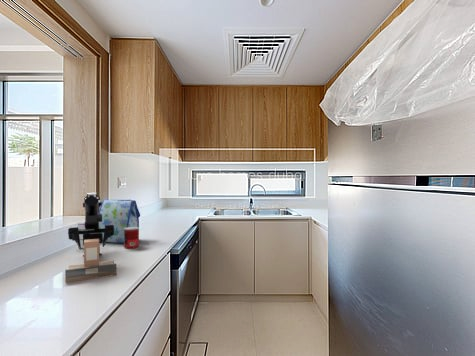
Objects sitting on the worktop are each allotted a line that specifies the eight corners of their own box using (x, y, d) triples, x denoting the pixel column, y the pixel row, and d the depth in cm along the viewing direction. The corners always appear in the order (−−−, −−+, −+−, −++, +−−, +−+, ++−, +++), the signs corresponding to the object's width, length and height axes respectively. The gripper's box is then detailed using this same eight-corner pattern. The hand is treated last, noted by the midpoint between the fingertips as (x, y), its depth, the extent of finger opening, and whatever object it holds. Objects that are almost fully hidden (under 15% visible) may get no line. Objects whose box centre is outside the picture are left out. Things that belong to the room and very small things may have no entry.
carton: (99, 266, 126) (98, 238, 126) (99, 270, 121) (98, 241, 121) (84, 268, 124) (84, 239, 124) (84, 272, 119) (83, 242, 119)
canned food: (141, 246, 170) (141, 227, 170) (132, 249, 163) (132, 229, 163) (130, 245, 173) (130, 226, 173) (121, 248, 165) (121, 228, 165)
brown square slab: (69, 269, 128) (69, 258, 128) (113, 263, 136) (113, 253, 136) (65, 282, 111) (65, 270, 111) (116, 275, 119) (116, 264, 119)
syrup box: (86, 248, 165) (86, 222, 165) (77, 248, 167) (77, 222, 167) (93, 246, 171) (93, 221, 171) (84, 245, 172) (84, 221, 172)
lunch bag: (141, 238, 191) (141, 198, 191) (128, 244, 175) (127, 200, 175) (110, 237, 195) (110, 198, 195) (94, 243, 179) (94, 200, 179)
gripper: (68, 209, 130) (66, 239, 120) (113, 207, 138) (115, 235, 128) (69, 224, 137) (68, 253, 127) (113, 221, 145) (114, 248, 135)
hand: (91, 247), depth 129 cm, fingers open, 9 cm apart
